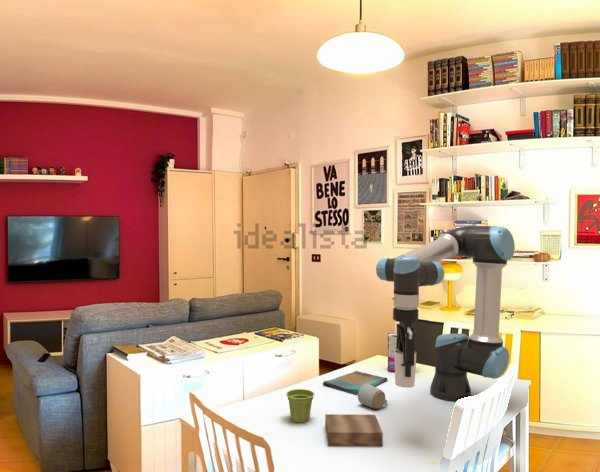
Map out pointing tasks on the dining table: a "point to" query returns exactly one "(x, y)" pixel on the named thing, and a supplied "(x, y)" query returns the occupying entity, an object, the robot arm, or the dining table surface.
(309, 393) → the plant pot
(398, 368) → the beige hollow cylinder
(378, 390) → the ceramic mug
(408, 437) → the dining table surface
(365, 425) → the walnut riser block
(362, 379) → the dish towel
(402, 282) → the robot arm
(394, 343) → the candy bar box
